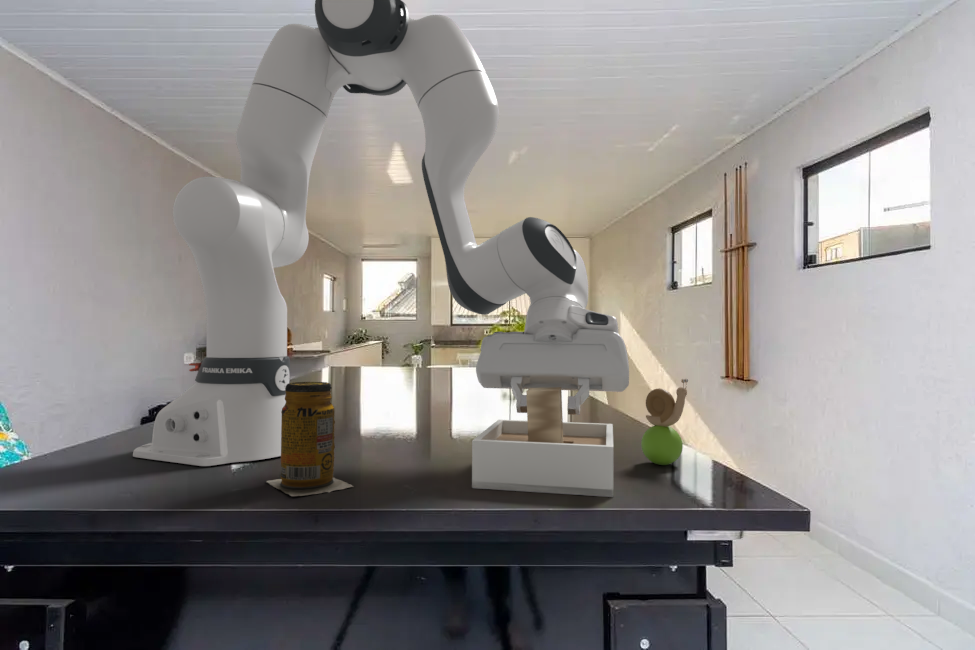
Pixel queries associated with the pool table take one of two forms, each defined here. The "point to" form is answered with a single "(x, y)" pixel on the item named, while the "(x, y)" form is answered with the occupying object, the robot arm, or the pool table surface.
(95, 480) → the pool table surface
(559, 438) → the beech peg
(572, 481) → the open box
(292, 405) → the condiment
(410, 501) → the pool table surface
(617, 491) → the pool table surface
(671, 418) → the snail figurine
